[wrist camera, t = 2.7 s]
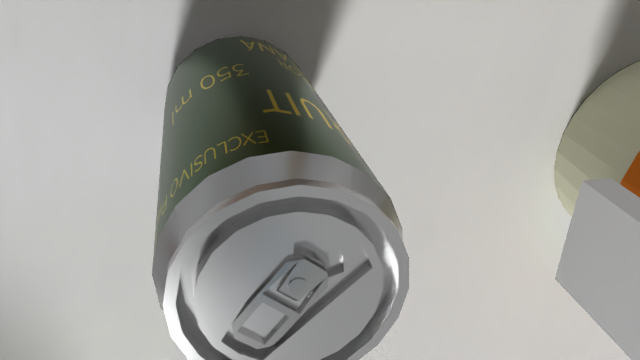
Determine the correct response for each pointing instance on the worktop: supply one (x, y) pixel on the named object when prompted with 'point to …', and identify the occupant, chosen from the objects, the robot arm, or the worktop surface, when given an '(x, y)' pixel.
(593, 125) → the reusable coffee cup
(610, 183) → the robot arm
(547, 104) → the worktop surface
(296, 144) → the beer can
